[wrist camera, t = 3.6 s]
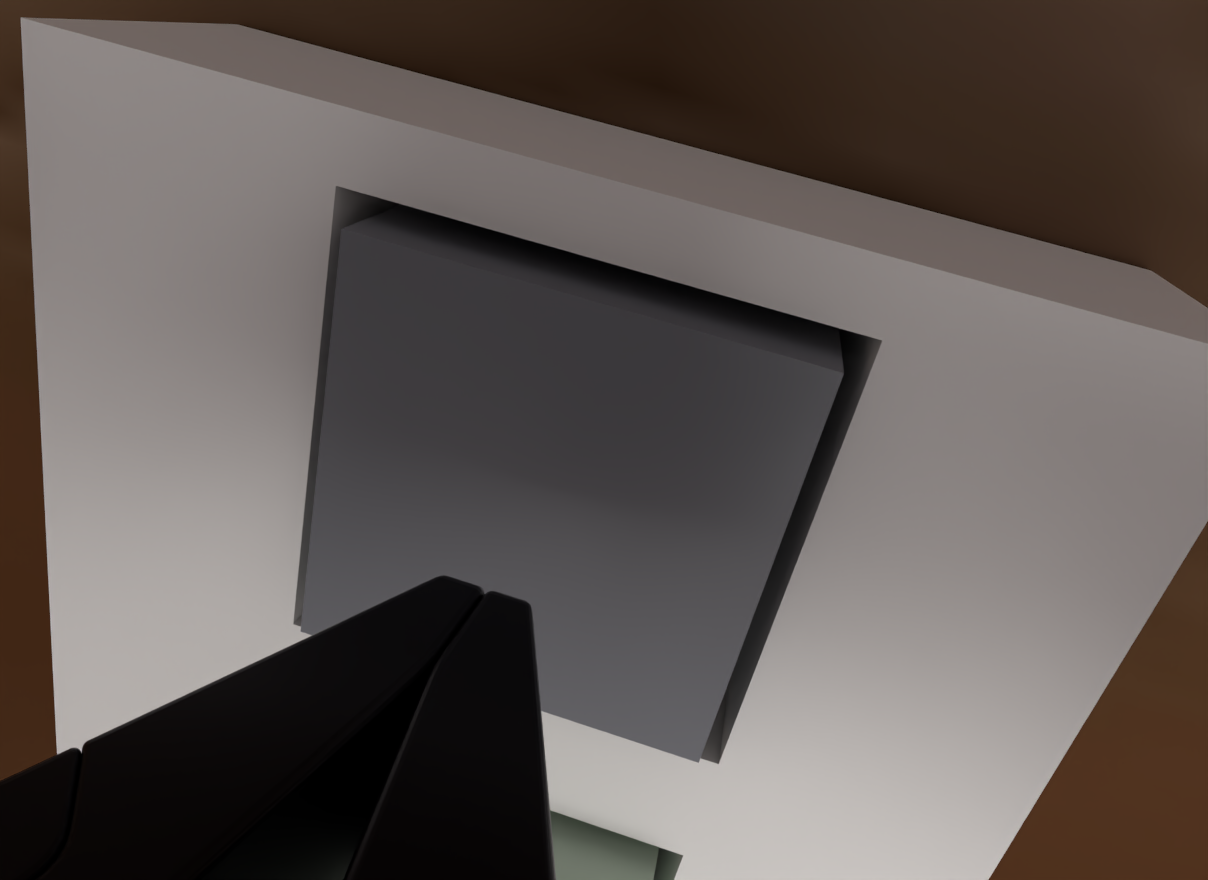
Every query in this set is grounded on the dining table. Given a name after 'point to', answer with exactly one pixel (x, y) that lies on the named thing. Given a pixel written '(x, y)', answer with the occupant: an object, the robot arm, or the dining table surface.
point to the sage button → (598, 852)
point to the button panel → (656, 247)
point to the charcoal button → (563, 458)
